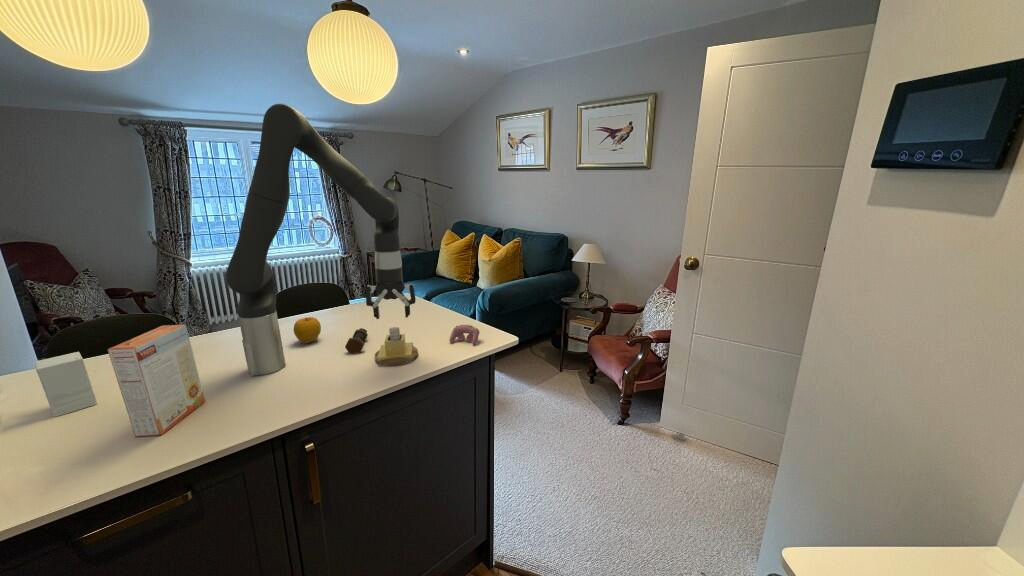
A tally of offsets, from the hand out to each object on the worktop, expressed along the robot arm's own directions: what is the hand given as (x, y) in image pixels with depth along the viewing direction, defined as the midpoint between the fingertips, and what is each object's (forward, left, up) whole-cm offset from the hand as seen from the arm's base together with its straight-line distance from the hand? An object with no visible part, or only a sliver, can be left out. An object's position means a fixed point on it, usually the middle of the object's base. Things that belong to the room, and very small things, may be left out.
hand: (392, 317), depth 118 cm
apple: (-17, +33, -13) cm, 39 cm away
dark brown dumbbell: (-5, +18, -14) cm, 23 cm away
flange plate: (0, 0, -12) cm, 12 cm away
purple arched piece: (+23, -5, -14) cm, 27 cm away
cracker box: (-54, +4, -13) cm, 56 cm away
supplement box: (-72, +28, -13) cm, 78 cm away
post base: (0, 0, -13) cm, 13 cm away
